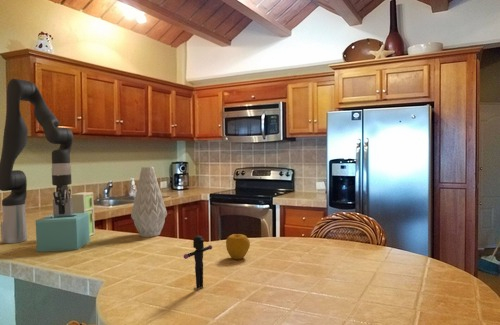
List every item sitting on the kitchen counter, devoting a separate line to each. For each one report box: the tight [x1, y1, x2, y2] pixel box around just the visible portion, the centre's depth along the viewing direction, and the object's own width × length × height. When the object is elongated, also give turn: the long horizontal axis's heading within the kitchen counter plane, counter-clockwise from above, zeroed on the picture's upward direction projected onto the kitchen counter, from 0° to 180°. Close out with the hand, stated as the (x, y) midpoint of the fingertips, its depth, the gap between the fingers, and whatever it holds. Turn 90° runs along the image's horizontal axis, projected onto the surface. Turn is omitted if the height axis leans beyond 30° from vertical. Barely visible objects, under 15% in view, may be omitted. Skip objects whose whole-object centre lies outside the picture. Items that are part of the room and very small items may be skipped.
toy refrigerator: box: [70, 191, 96, 237], centre depth 184 cm, size 8×7×21 cm
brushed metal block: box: [52, 197, 73, 216], centre depth 164 cm, size 7×3×7 cm, turn 96°
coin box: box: [35, 213, 91, 253], centre depth 164 cm, size 16×16×13 cm
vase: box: [130, 166, 168, 238], centre depth 181 cm, size 17×17×33 cm
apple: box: [225, 233, 251, 260], centre depth 137 cm, size 8×8×9 cm
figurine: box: [183, 235, 213, 291], centre depth 107 cm, size 12×4×15 cm, turn 149°
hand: (63, 213), depth 164 cm, fingers closed on brushed metal block, 3 cm apart
